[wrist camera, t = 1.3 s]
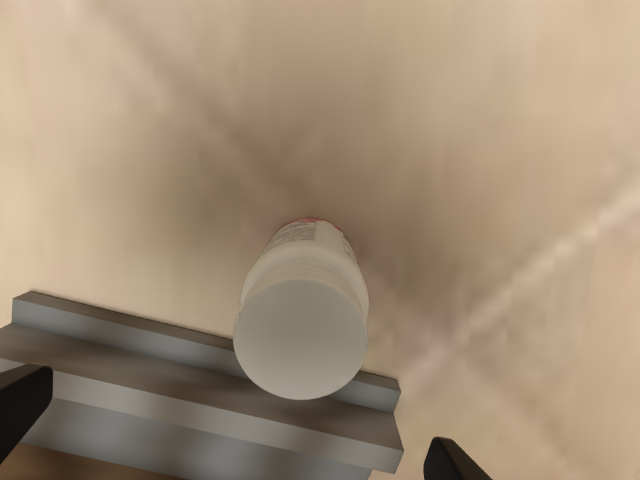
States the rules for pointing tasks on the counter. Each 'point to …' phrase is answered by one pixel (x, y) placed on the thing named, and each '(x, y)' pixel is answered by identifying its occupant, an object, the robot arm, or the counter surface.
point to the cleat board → (180, 407)
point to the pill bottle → (303, 313)
